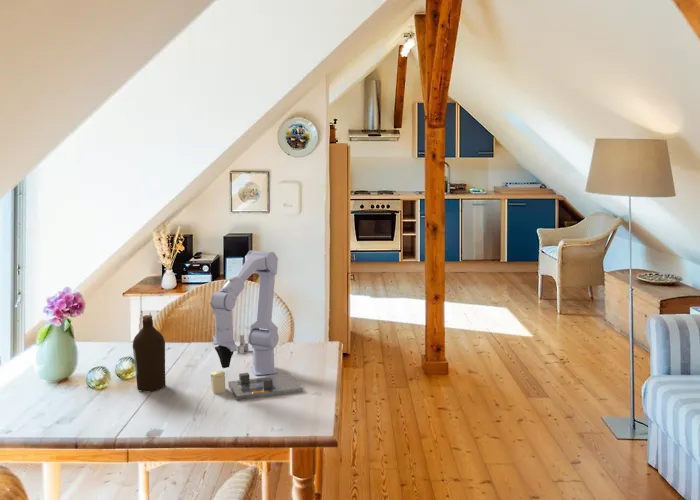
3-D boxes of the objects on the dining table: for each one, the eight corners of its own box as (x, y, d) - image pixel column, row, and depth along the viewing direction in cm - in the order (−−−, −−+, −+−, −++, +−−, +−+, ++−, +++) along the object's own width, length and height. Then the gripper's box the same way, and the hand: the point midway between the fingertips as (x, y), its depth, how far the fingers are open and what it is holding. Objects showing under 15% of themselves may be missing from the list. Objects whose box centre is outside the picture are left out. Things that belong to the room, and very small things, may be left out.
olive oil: (170, 381, 263) (166, 312, 259) (163, 392, 253) (159, 319, 249) (139, 382, 263) (135, 312, 259) (131, 393, 252) (127, 320, 248)
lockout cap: (210, 389, 255) (209, 371, 254) (224, 387, 256) (223, 370, 255) (212, 393, 251) (212, 375, 250) (226, 392, 252) (225, 374, 251)
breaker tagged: (262, 386, 252) (261, 378, 251) (270, 385, 253) (270, 377, 252) (263, 389, 249) (263, 381, 249) (272, 388, 250) (272, 380, 250)
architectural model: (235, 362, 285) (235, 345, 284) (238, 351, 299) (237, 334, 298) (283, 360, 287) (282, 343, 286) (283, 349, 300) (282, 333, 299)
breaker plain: (239, 381, 257) (239, 373, 257) (248, 380, 258) (247, 372, 258) (240, 383, 255) (240, 375, 254) (249, 382, 256) (249, 374, 255)
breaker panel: (228, 385, 258) (228, 381, 258) (290, 378, 265) (290, 373, 265) (237, 400, 244) (236, 395, 244) (302, 391, 251) (302, 387, 251)
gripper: (203, 325, 253) (205, 363, 255) (222, 334, 241) (223, 375, 243) (223, 321, 257) (224, 360, 259) (242, 330, 245) (243, 371, 247)
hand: (225, 367), depth 251 cm, fingers closed
